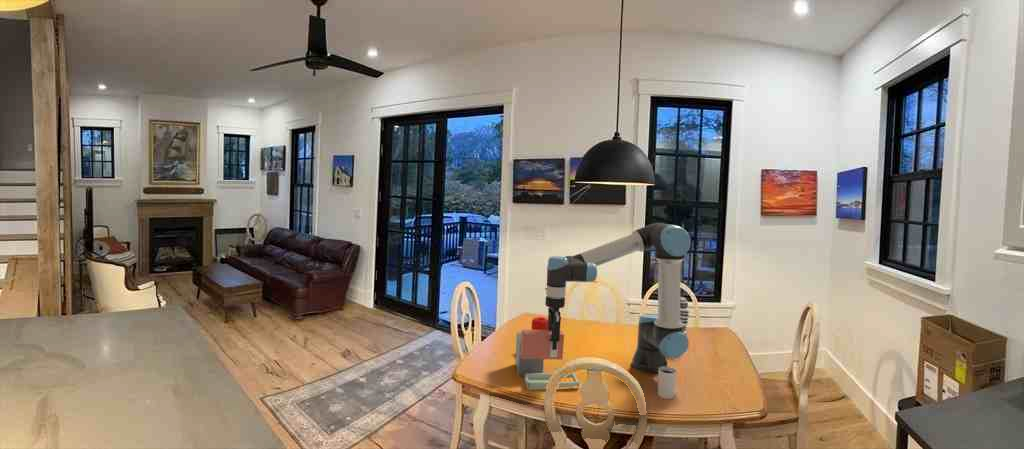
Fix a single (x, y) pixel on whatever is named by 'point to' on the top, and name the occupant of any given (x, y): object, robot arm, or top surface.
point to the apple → (539, 323)
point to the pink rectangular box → (539, 344)
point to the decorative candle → (684, 312)
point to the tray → (545, 380)
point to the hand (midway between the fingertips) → (551, 354)
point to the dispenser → (526, 361)
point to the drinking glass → (666, 382)
